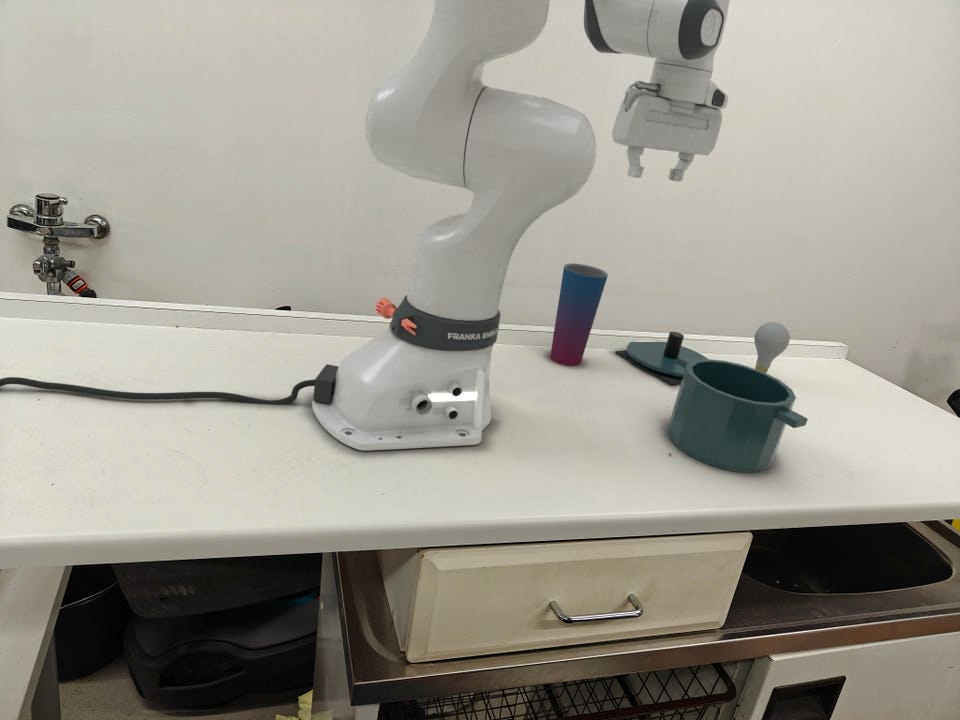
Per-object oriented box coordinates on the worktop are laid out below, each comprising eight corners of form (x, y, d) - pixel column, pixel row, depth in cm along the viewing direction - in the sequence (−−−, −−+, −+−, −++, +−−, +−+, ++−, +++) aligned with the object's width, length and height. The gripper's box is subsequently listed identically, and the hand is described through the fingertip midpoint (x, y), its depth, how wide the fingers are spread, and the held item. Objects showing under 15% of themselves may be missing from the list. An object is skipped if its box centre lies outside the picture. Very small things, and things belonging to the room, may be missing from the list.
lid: (671, 385, 112) (680, 355, 110) (608, 349, 123) (615, 320, 121) (730, 376, 120) (739, 348, 118) (666, 343, 131) (673, 316, 129)
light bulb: (781, 383, 123) (801, 328, 119) (761, 385, 120) (780, 329, 116) (756, 369, 127) (774, 316, 123) (735, 372, 124) (753, 317, 120)
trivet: (670, 385, 113) (671, 383, 113) (614, 353, 123) (615, 350, 123) (723, 377, 120) (724, 375, 120) (666, 347, 130) (667, 345, 130)
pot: (744, 492, 85) (770, 422, 82) (633, 418, 99) (650, 355, 96) (810, 473, 93) (836, 407, 89) (697, 407, 107) (716, 348, 103)
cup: (584, 371, 112) (607, 280, 107) (542, 361, 113) (562, 270, 108) (587, 357, 119) (608, 269, 113) (547, 347, 119) (566, 260, 114)
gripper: (645, 81, 102) (621, 179, 108) (735, 99, 114) (710, 186, 119) (615, 76, 107) (594, 170, 112) (705, 94, 119) (682, 178, 124)
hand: (654, 178), depth 116 cm, fingers open, 8 cm apart
